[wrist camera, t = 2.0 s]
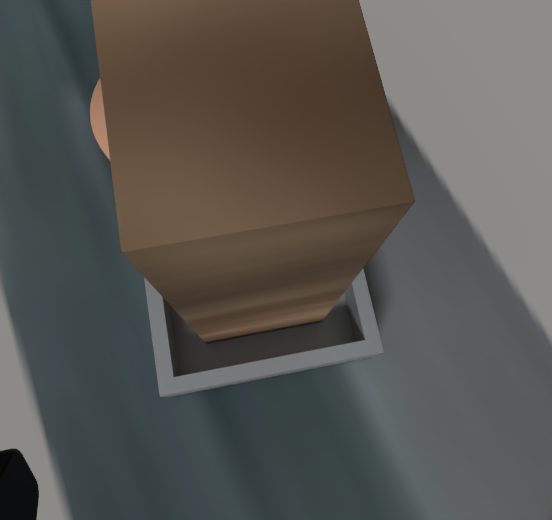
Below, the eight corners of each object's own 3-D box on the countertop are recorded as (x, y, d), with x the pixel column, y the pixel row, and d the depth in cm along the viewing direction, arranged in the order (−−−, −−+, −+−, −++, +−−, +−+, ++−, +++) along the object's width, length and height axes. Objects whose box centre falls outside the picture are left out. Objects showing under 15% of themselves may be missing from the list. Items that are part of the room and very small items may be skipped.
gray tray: (370, 357, 22) (383, 352, 20) (170, 397, 22) (159, 396, 19) (327, 174, 25) (334, 151, 22) (144, 205, 24) (131, 184, 22)
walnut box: (321, 322, 22) (415, 200, 9) (206, 344, 22) (121, 252, 8) (297, 209, 24) (346, -45, 10) (188, 228, 23) (89, -10, 10)
